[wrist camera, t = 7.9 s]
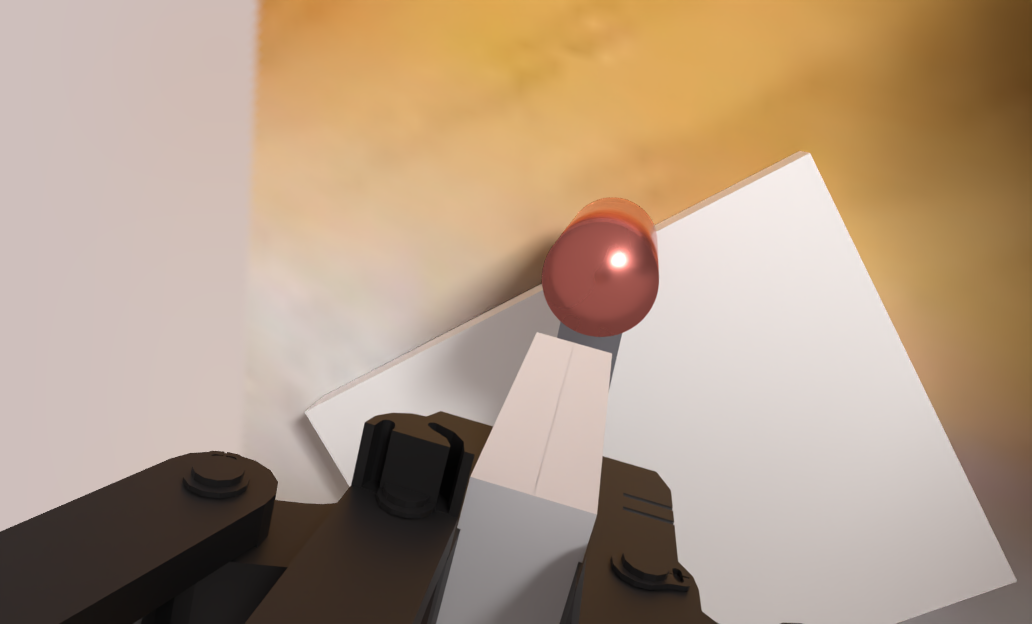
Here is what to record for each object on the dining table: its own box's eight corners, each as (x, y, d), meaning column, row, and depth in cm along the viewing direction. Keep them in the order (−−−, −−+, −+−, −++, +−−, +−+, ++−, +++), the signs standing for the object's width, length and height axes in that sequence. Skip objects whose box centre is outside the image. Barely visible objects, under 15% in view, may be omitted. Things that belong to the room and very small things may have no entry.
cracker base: (799, 150, 30) (820, 155, 26) (995, 553, 32) (1039, 609, 29) (323, 395, 35) (285, 427, 32) (519, 724, 38) (505, 789, 34)
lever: (566, 186, 29) (539, 208, 22) (678, 210, 28) (686, 238, 21) (461, 701, 34) (414, 843, 28) (552, 727, 34) (527, 878, 27)
